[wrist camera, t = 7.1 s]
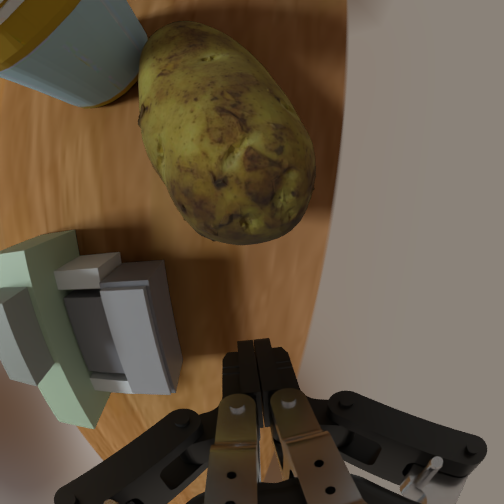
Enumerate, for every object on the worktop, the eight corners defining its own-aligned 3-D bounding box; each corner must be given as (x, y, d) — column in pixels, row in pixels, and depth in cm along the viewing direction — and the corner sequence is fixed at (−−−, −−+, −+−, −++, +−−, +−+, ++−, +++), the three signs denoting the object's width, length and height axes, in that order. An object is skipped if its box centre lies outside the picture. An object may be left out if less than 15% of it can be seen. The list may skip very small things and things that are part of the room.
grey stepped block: (81, 266, 17) (49, 288, 13) (163, 259, 17) (145, 283, 13) (108, 358, 19) (88, 392, 15) (182, 359, 19) (174, 397, 15)
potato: (276, 36, 14) (303, -34, 7) (296, 219, 18) (345, 249, 10) (153, 49, 14) (114, -14, 6) (167, 233, 17) (122, 274, 10)
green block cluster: (41, 234, 16) (-36, 267, 8) (115, 224, 17) (41, 258, 9) (84, 377, 20) (47, 441, 12) (152, 382, 20) (129, 461, 12)
